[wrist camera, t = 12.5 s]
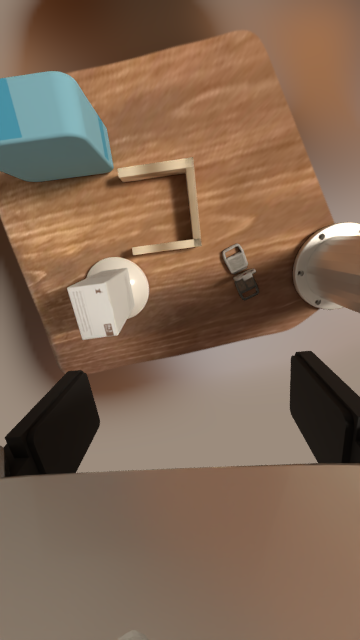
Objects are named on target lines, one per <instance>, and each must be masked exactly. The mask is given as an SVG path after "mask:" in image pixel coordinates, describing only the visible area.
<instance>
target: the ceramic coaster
mask: <svg viewBox="0 0 360 640" xmlns="http://www.w3.org/2000/svg"><path fill="white" fill-rule="evenodd" d="M121 268H128V272H129V278H130V283H131V288H132V293H133V298H134V303H135V306H134V308H133V309H132V311H131V313H130V315H129V316H128V318H131V317H133V316H135V315H137V314H138V313H139V312H140V311H141V310H142V309H143V308H144V306H145V304H146V302H147V300H148V297H149V283H148V280H147V277H146V275H145V273H144V272H143V271H142V269H141V268H140V267H139V266H138V265H137V264H135V263H134V262H132V261H130V260H128V259H125V258H121V257H110V258H106V259H103V260H101V261H99V262H97V263H96V264H95V265H94V266H93V267H92V268H91V269H90V271H89V273H88V275H87V278H88V277H90V276H93V275H95V274H97V273H99V272H101V271H106V270H113V269H121ZM128 318H127V319H128Z"/></svg>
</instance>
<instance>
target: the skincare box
mask: <svg viewBox="0 0 360 640" xmlns="http://www.w3.org/2000/svg"><path fill="white" fill-rule="evenodd" d="M67 290H68V294H69V297H70V300H71V303H72V307H73V310H74V313H75V316H76V320H77V323H78V326H79V330H80V333H81V336H82V339H83V340H85V339H93V338H100V337H108V336H117V335H118V334H119V333H120V331H121V329H122V327H123V325H124V324H125V322H126V320H127V318H128V316H129V315H130V313H131V311H132V309H133V308H134V306H135V303H134V298H133V293H132V288H131V283H130V278H129V272H128V268H121V269H113V270H106V271H101V272H99V273H97V274H95V275H93V276H90V277H88V278H86V279H84V280H82V281H80V282H78V283H76V284H74V285H71V286H69V287H68V288H67Z"/></svg>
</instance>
